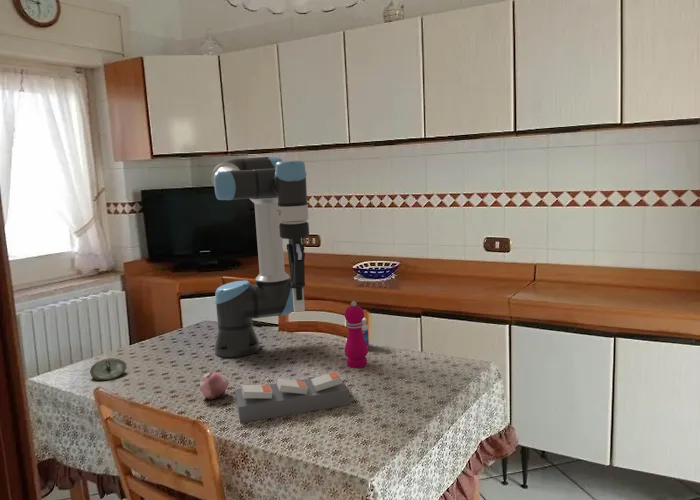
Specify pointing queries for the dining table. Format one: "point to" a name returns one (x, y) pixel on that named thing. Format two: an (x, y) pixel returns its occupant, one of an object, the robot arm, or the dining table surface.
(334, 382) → the rocker
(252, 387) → the rocker
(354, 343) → the pepper mill
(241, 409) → the switch panel
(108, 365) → the lid
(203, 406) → the dining table surface
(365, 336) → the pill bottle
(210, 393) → the onion
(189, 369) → the dining table surface
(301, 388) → the rocker
